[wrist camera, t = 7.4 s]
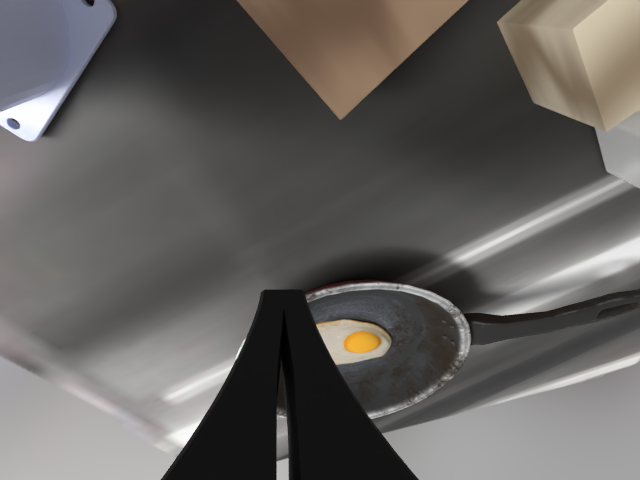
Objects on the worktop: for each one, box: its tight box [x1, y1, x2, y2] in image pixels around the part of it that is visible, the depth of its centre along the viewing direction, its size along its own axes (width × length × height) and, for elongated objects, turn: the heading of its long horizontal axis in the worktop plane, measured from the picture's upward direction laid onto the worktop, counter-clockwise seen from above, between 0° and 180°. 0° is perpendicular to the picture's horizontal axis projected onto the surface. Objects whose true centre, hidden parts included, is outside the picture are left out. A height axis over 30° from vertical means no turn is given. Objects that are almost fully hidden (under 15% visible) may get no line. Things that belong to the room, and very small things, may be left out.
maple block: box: [497, 0, 640, 132], centre depth 14 cm, size 5×5×5 cm
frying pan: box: [235, 279, 640, 419], centre depth 26 cm, size 19×32×4 cm, turn 106°
